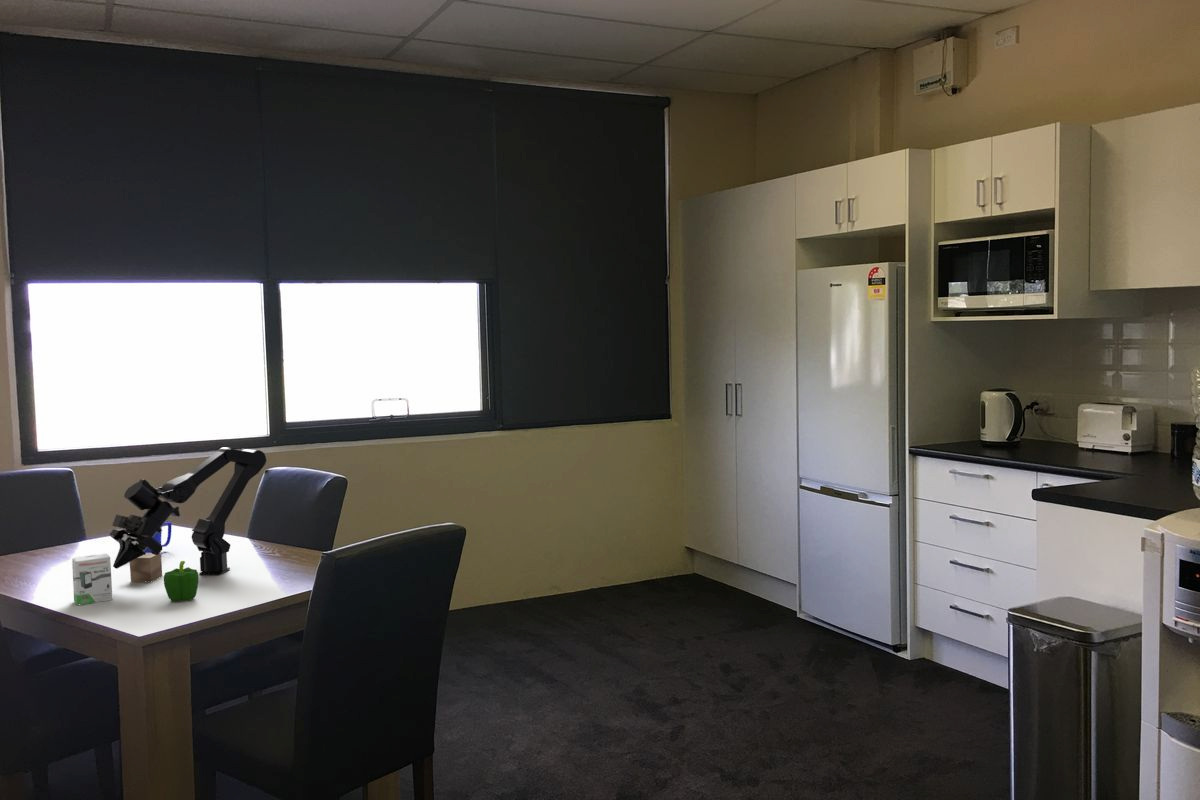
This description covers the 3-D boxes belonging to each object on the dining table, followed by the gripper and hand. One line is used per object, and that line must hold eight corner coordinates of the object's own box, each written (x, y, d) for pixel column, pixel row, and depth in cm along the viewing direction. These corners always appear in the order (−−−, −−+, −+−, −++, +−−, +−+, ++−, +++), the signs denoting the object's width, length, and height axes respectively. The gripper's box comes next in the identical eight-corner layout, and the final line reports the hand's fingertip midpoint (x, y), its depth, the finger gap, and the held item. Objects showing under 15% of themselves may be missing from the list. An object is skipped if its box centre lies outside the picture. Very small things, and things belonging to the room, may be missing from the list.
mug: (179, 551, 310) (178, 520, 309) (144, 559, 300) (143, 527, 299) (164, 548, 315) (162, 518, 314) (129, 556, 305) (127, 525, 304)
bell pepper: (187, 605, 249) (185, 567, 248) (159, 604, 251) (156, 566, 250) (206, 595, 257) (204, 559, 257) (178, 595, 259) (176, 558, 258)
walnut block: (162, 576, 279) (161, 552, 278) (151, 582, 273) (149, 557, 272) (142, 576, 279) (141, 552, 279) (130, 582, 273) (129, 557, 273)
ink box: (76, 606, 250) (73, 561, 249) (73, 601, 254) (71, 557, 253) (113, 599, 255) (110, 556, 254) (110, 595, 259) (107, 552, 258)
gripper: (114, 499, 268) (75, 546, 260) (149, 506, 256) (109, 555, 248) (143, 523, 274) (106, 569, 267) (178, 530, 263) (140, 578, 255)
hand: (114, 567), depth 259 cm, fingers closed
